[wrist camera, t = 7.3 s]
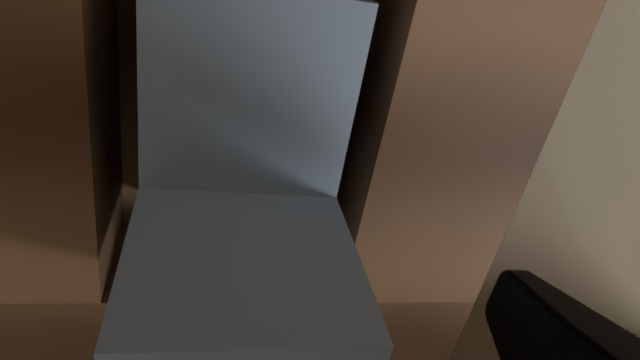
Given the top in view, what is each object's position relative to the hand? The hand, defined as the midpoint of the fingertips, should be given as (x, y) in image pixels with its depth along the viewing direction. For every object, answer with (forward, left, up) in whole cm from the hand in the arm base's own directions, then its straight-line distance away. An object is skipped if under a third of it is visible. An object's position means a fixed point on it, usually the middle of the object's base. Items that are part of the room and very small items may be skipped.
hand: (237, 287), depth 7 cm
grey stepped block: (+1, 0, -6) cm, 6 cm away
